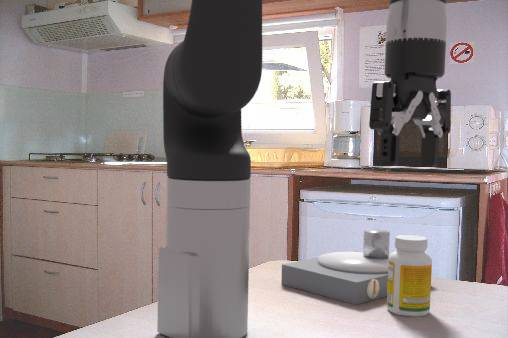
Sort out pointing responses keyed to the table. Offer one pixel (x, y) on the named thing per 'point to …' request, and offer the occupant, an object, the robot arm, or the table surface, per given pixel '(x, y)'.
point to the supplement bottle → (409, 277)
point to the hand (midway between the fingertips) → (410, 165)
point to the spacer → (376, 244)
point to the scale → (340, 276)
